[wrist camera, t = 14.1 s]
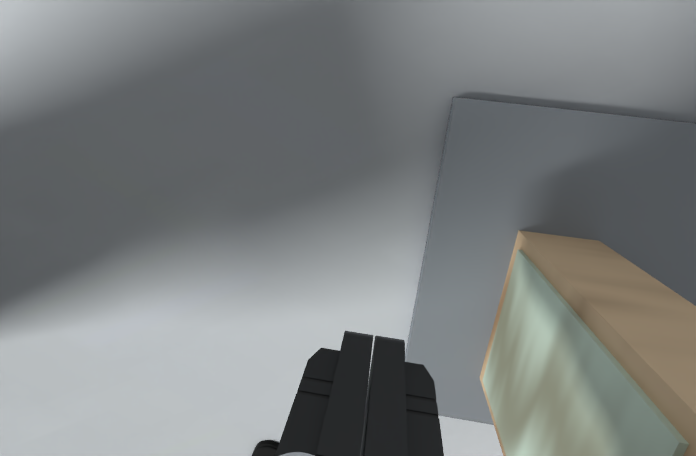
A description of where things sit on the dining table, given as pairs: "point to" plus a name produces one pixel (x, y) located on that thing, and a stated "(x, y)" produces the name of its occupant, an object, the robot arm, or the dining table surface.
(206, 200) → the dining table surface
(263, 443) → the smartphone
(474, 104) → the felt mat
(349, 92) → the dining table surface
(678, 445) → the oak tile
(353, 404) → the robot arm
